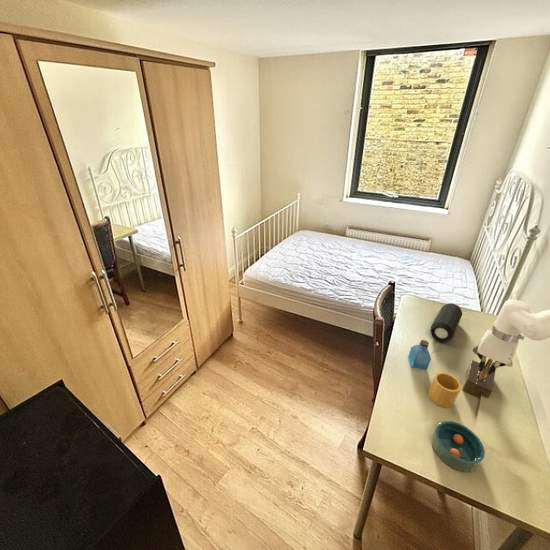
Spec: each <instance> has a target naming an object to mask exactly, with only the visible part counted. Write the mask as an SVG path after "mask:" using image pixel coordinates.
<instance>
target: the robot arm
mask: <svg viewBox="0 0 550 550" xmlns="http://www.w3.org/2000/svg"><path fill="white" fill-rule="evenodd" d="M495 319H496V320H495V321H494V323H493V325H492V327H490V328H488V329H487V330H486V332H485V333H484V334H483V335H482V338H481V339H480V341H479V343H478V345H476V346H475V347H473V348H472V352H473V354H475V355H477V358H479V360H480V361H479V362H478V363H479V366H478V367H480V371H482V369H483V367H484V365H486V363H487V358H488V359H489V358H490V359H492V360H494V361H493V362H492V363H491V365H490V368H489V372H488V374H489V375H491V373H492V372H493V373H494V371H495V370H496V371H497V369H498V368H503V367H509V368H513V366H514V361H513V358H514V356H515V354H516V351H517V348H518V345H519V341H520V340H522V341H523V340H524V339H525V337H526V338H528V339H530V340H532V341H542V340H546V339H548V338H550V309H546V310H542V311H540V312H537V313H533V309H532V306H531V305H530V304H528V303H527V302H525V301H522V300H519V299H513V298H512V299H507V300H505V302H503V305H502V307H501V309H500V311H499V313H498V315H497V317H496V318H495ZM496 371H495V372H496Z"/></svg>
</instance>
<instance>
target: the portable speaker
mask: <svg viewBox="0 0 550 550" xmlns="http://www.w3.org/2000/svg"><path fill="white" fill-rule="evenodd" d="M462 317H463V310H462V308H461V307H460V305H458V304H457V303H453V302H449V303H446V304H443V305H442V306H441V308H440V309H439V311H438V313H437V315H436V316H435V318H434V321H433V322H432V324H431V326H430V330H429V331H430V334H431V337H432V338H433V339H434V340H435V341H437V342H440V343H446V342H448V341H451V340H452V339H453V338H454V335H455V333H456V331H457V328H458V326H459V323H460V321H461V318H462Z"/></svg>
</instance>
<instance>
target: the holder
mask: <svg viewBox="0 0 550 550" xmlns="http://www.w3.org/2000/svg"><path fill="white" fill-rule="evenodd" d="M479 363H480V362H479V361H476V360H474V359H472V360H471V362H470V364H469V366H468V368H467V370H466V375H465V377H464V380H463V381H464V382H463V386H462V388H461V390H462V391H463V392H465V393H466V394H469V395H471V396H473V397H475V398H477V399H480V400H481V399H482V397H483V398H486V399H489V398H490V396H491V395H492V392H493V389H494V384H495V377H496V371H497V369H496V370H495V371H494V373H493V372H492V373H491V375H489V374H488V372H489V369H488V371H487V373H486V375H485V377H484V379H483V381H481V380H478V378H479V376H480V374H481V372H482V371H483V369H484V367H485V365H486V364H485V365H484V367H483V369H482V371H480V367H478V366H479ZM489 368H490V367H489Z"/></svg>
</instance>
